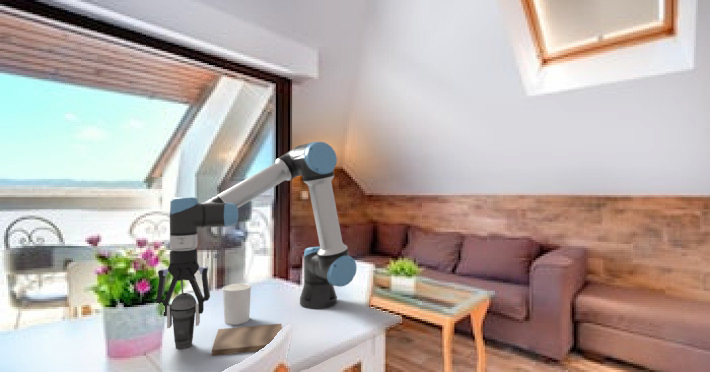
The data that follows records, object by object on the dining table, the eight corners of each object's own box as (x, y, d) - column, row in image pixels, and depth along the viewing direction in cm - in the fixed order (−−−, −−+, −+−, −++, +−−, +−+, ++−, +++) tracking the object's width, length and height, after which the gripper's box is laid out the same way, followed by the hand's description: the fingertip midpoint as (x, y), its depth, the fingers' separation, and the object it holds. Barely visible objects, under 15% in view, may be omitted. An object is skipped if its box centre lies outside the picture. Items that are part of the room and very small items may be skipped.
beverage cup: (179, 353, 105) (179, 283, 105) (164, 347, 109) (165, 279, 109) (202, 344, 112) (202, 277, 112) (187, 338, 115) (187, 274, 115)
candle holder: (242, 326, 125) (242, 291, 125) (216, 324, 127) (216, 289, 127) (256, 316, 135) (256, 284, 135) (231, 315, 137) (231, 282, 137)
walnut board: (281, 328, 124) (281, 323, 124) (283, 348, 109) (283, 343, 109) (218, 333, 119) (218, 329, 119) (211, 355, 104) (211, 350, 104)
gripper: (142, 252, 104) (142, 333, 104) (217, 249, 109) (217, 326, 109) (150, 248, 112) (150, 323, 112) (220, 245, 117) (220, 318, 116)
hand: (183, 325), depth 110 cm, fingers closed on beverage cup, 7 cm apart
